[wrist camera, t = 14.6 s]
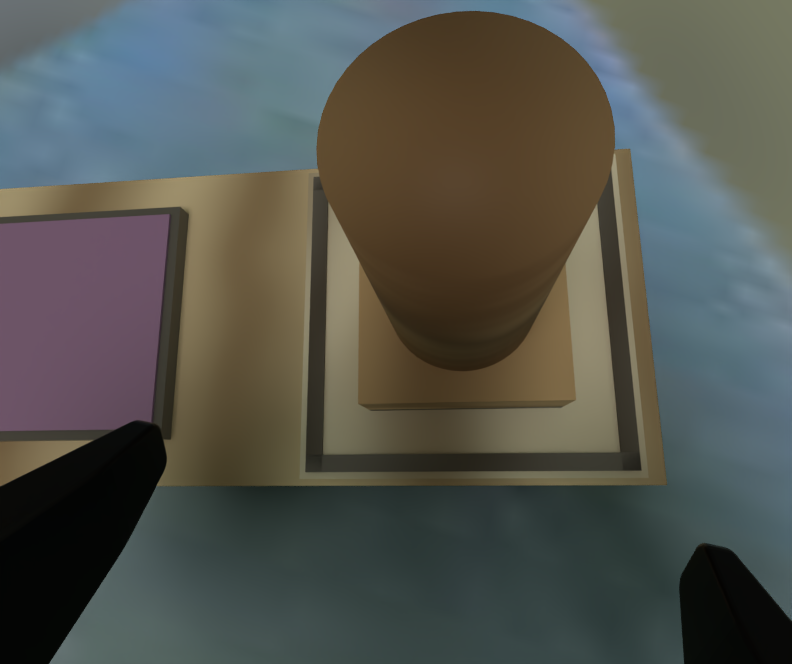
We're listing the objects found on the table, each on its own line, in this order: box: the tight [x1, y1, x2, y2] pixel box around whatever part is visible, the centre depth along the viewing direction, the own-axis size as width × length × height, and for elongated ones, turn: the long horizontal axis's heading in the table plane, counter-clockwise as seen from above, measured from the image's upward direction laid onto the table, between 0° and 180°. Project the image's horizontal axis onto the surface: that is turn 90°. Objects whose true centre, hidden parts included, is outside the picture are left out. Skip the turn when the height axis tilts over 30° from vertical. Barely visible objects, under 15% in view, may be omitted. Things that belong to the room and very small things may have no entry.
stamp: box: [317, 11, 615, 411], centre depth 12 cm, size 6×6×10 cm
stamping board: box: [0, 149, 667, 486], centre depth 19 cm, size 24×10×2 cm, turn 91°
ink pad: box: [0, 207, 189, 442], centre depth 18 cm, size 8×8×1 cm
